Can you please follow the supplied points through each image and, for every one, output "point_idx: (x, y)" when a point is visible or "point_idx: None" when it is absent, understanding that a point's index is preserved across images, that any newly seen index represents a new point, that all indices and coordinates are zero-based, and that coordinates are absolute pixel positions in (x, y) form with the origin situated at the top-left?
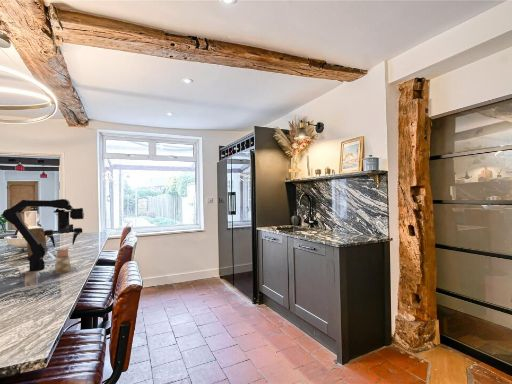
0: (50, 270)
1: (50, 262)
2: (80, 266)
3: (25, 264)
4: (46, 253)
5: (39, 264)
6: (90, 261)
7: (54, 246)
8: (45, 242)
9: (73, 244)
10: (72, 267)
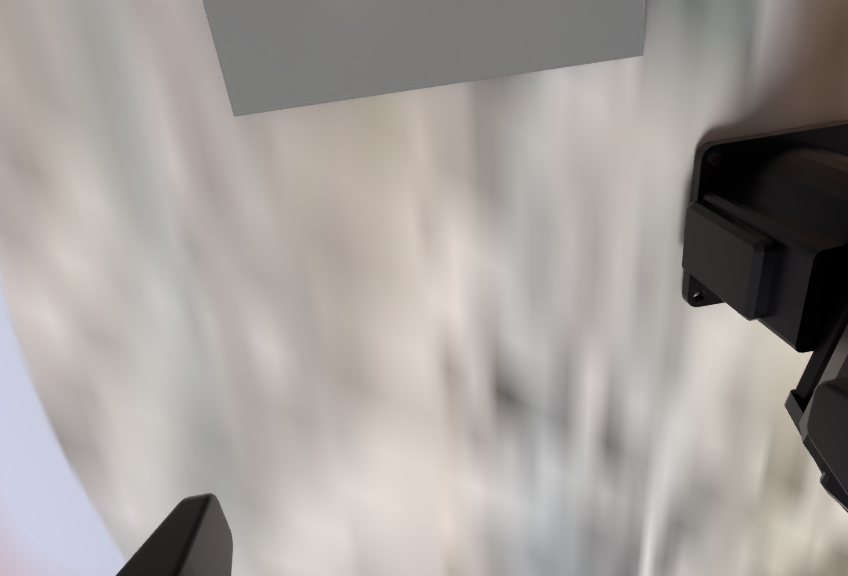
0: (618, 12)
1: (585, 567)
2: (157, 141)
3: (800, 570)
4: (807, 414)
5: (813, 187)
6: (80, 437)
7: (843, 385)
8: None
9: (173, 509)
10: (272, 52)
